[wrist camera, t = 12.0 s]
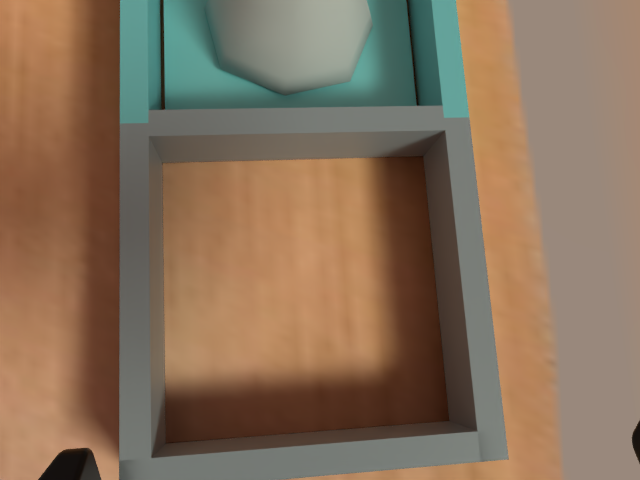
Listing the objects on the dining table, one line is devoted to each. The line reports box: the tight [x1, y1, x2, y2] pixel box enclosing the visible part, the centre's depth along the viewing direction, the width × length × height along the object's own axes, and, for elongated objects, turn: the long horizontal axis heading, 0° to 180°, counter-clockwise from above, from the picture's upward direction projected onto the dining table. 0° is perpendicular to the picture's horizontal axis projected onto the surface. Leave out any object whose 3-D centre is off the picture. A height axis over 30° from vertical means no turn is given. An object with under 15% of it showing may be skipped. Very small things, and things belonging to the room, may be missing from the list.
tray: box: [119, 0, 509, 480], centre depth 23 cm, size 25×13×3 cm, turn 4°
